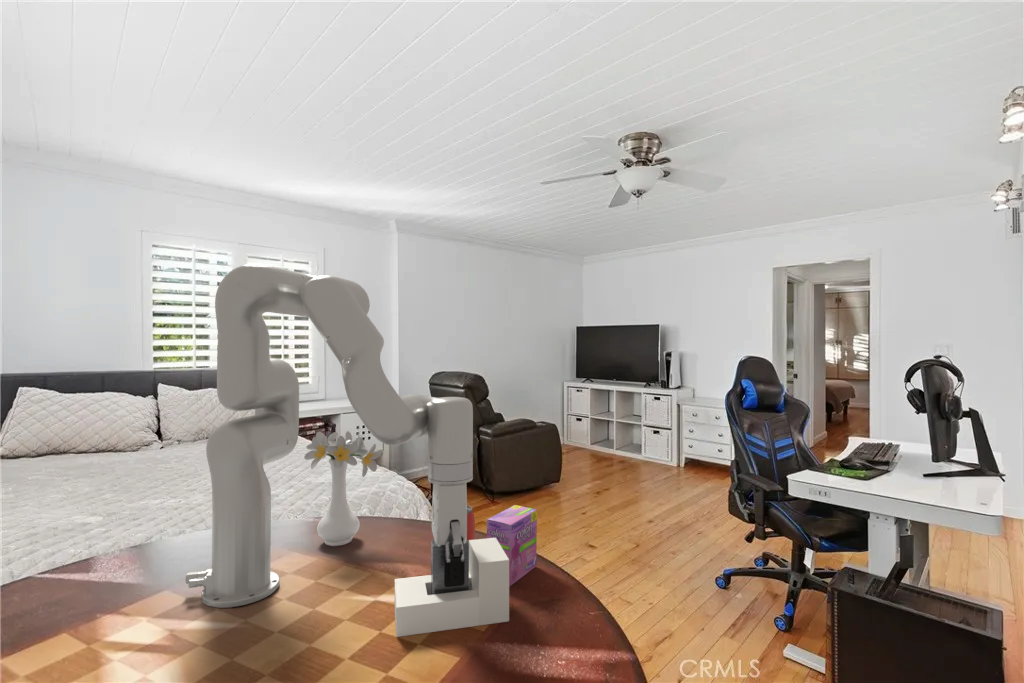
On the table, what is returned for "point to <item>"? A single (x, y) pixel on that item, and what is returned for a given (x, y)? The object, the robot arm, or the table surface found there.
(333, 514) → the flower vase
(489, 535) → the box
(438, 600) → the post block
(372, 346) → the robot arm
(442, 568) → the gray rectangular block
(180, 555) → the table surface
